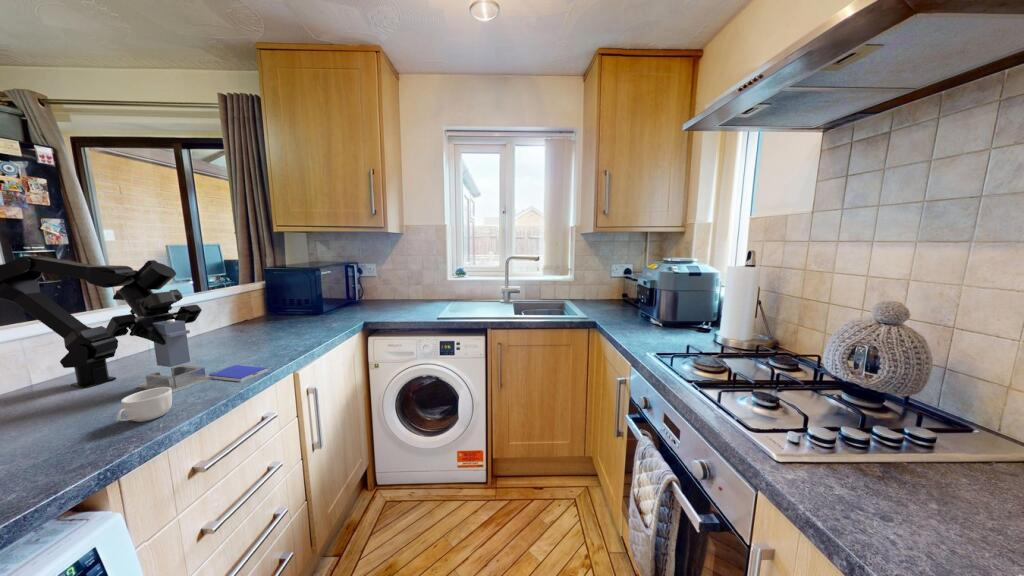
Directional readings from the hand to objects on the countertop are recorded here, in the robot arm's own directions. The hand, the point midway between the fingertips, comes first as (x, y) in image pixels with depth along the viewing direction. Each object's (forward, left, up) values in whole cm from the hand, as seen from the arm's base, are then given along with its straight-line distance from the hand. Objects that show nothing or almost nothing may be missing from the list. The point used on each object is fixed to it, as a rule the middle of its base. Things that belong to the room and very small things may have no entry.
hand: (175, 341), depth 93 cm
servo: (-2, 0, -7) cm, 7 cm away
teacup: (+16, -16, -13) cm, 26 cm away
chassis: (-2, 0, -12) cm, 12 cm away
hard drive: (+9, +9, -13) cm, 18 cm away
